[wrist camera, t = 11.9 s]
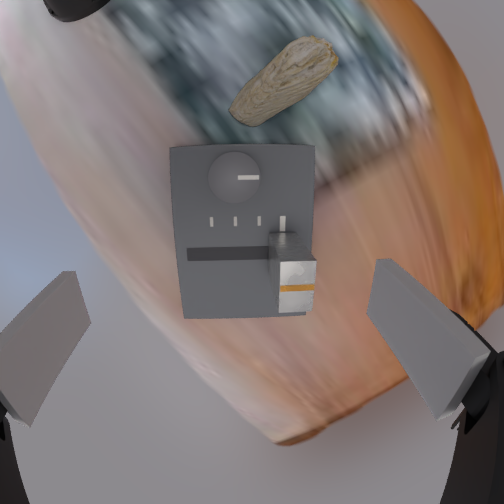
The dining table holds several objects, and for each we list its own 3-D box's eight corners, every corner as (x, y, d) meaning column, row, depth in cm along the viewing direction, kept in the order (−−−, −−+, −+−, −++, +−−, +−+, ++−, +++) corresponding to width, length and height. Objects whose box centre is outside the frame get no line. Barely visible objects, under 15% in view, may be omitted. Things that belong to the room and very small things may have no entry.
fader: (268, 273, 37) (278, 313, 28) (268, 232, 35) (280, 262, 26) (294, 272, 37) (312, 311, 28) (296, 232, 36) (317, 261, 26)
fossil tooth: (222, 104, 33) (307, 44, 29) (252, 137, 35) (337, 77, 31) (204, 86, 23) (322, 9, 19) (245, 132, 24) (363, 52, 20)
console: (186, 309, 42) (181, 328, 37) (173, 148, 34) (164, 147, 29) (302, 306, 43) (309, 324, 38) (309, 146, 35) (320, 145, 30)
